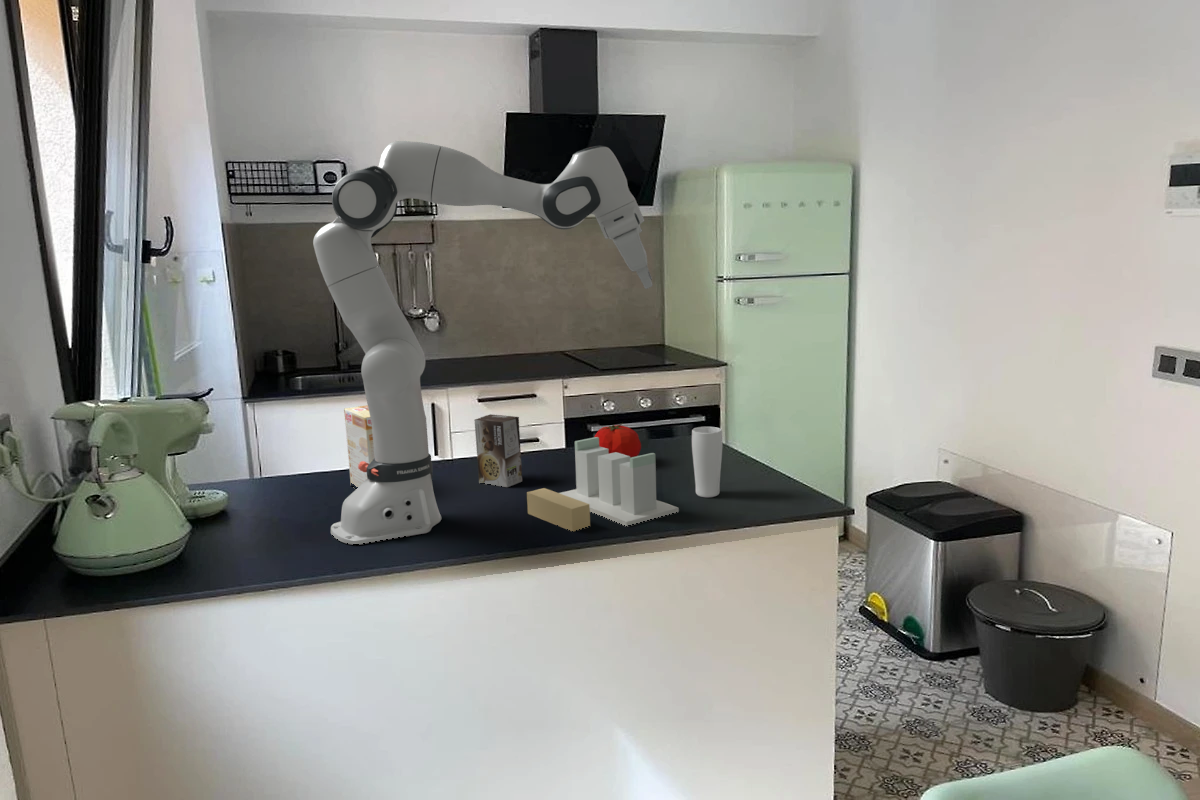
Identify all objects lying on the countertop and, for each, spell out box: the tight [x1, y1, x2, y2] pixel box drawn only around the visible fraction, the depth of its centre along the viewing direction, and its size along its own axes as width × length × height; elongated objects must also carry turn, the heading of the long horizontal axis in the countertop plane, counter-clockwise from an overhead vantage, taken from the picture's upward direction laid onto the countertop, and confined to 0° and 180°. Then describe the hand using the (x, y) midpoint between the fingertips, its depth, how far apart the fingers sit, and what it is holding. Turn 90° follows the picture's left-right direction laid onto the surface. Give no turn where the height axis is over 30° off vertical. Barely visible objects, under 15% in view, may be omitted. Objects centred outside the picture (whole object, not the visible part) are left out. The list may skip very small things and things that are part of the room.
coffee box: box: [473, 413, 523, 488], centre depth 208 cm, size 9×6×16 cm
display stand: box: [558, 437, 680, 527], centre depth 188 cm, size 14×26×13 cm, turn 36°
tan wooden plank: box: [526, 487, 591, 532], centre depth 180 cm, size 4×16×5 cm, turn 39°
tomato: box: [593, 422, 642, 458], centre depth 220 cm, size 13×12×11 cm
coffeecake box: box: [343, 404, 375, 487], centre depth 205 cm, size 15×7×20 cm, turn 34°
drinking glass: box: [691, 426, 723, 498], centre depth 193 cm, size 7×7×15 cm
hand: (649, 284), depth 179 cm, fingers open, 8 cm apart
